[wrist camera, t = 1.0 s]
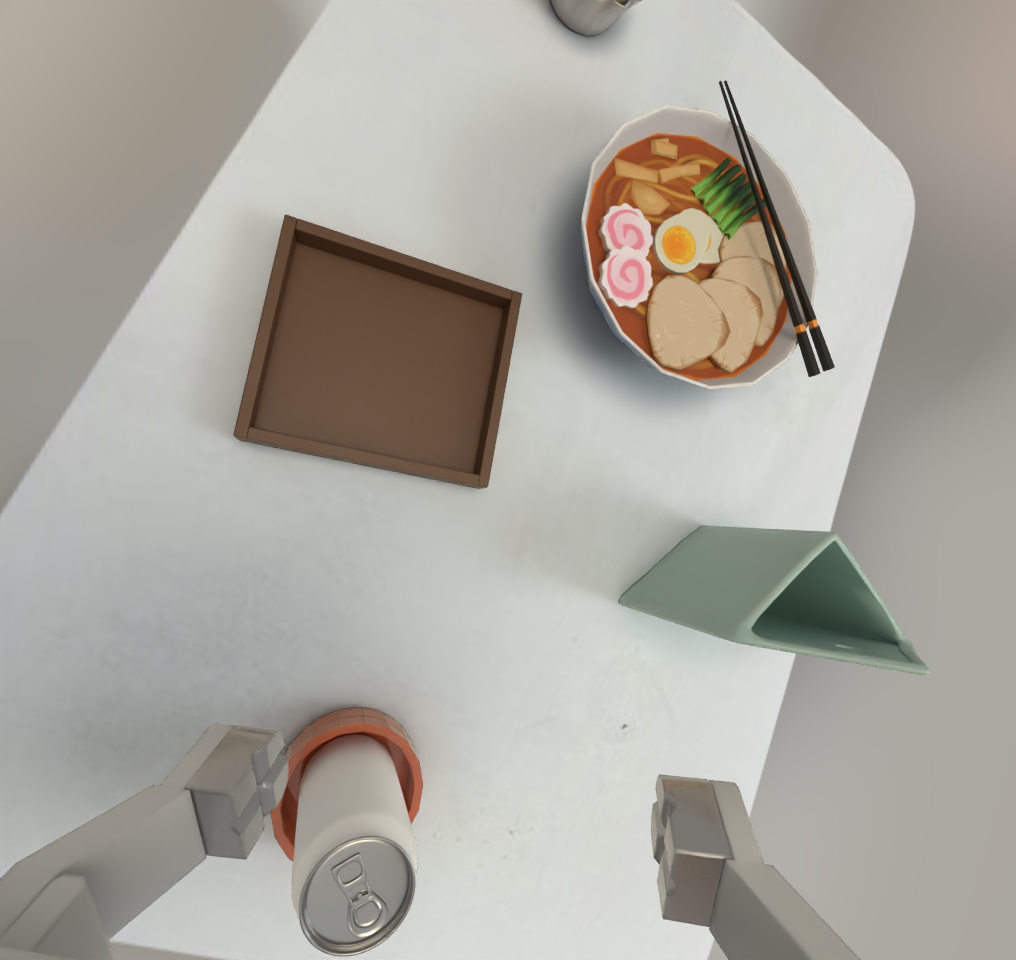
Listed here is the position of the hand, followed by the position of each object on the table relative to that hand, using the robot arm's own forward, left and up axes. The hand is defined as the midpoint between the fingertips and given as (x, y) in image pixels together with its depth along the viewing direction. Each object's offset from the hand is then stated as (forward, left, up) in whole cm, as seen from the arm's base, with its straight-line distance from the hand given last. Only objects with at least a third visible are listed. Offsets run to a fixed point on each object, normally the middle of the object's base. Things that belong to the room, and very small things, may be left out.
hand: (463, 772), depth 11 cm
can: (+1, -14, -29) cm, 32 cm away
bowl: (+1, -14, -29) cm, 32 cm away
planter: (+29, +5, -29) cm, 42 cm away
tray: (-2, +16, -29) cm, 33 cm away
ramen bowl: (+20, +30, -29) cm, 47 cm away
